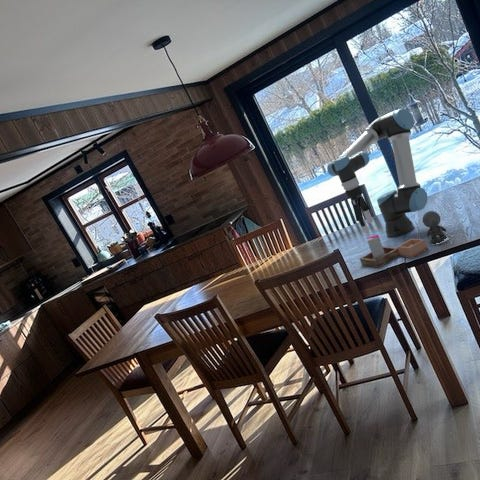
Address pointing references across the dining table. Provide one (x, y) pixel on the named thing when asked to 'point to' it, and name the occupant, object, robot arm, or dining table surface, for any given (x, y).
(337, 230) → the dining table surface
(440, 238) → the figurine
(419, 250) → the tan square open box
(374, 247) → the supplement box
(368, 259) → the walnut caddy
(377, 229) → the dining table surface
